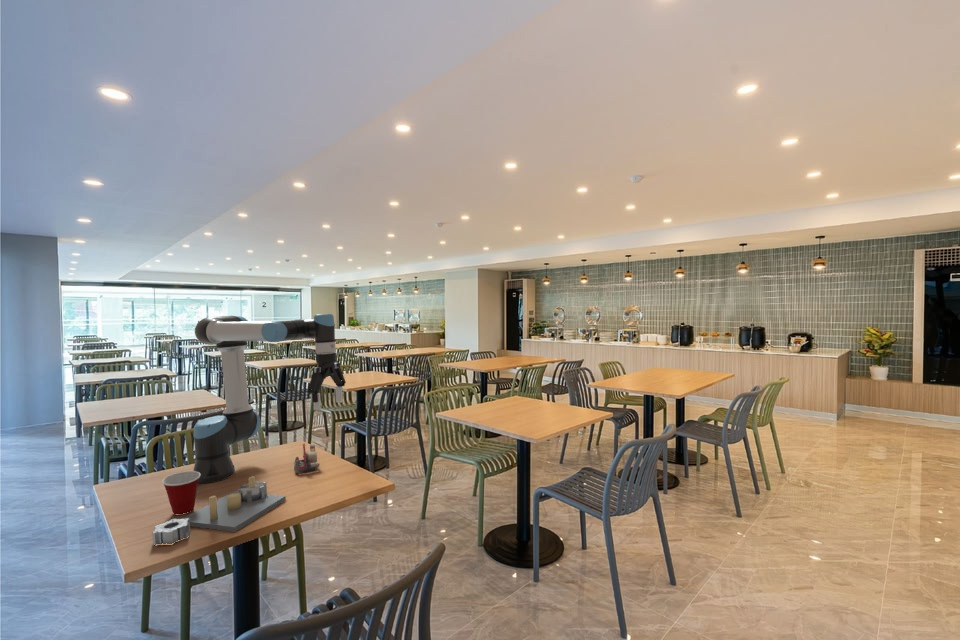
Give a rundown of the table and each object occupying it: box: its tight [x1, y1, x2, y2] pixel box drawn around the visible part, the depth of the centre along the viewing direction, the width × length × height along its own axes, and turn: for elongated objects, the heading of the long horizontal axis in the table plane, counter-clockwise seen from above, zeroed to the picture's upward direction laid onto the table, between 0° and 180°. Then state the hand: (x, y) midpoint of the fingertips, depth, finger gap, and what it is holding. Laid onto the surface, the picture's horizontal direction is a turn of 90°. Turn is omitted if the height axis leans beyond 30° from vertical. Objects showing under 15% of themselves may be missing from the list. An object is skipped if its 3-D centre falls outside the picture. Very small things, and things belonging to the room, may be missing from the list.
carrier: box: [181, 475, 287, 533], centre depth 148 cm, size 22×22×8 cm
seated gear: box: [237, 480, 268, 503], centre depth 156 cm, size 9×8×4 cm
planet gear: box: [152, 518, 191, 545], centre depth 132 cm, size 9×9×4 cm
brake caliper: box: [293, 443, 320, 476], centre depth 185 cm, size 11×11×12 cm
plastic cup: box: [161, 470, 201, 515], centre depth 150 cm, size 11×11×12 cm
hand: (328, 406), depth 178 cm, fingers open, 13 cm apart
